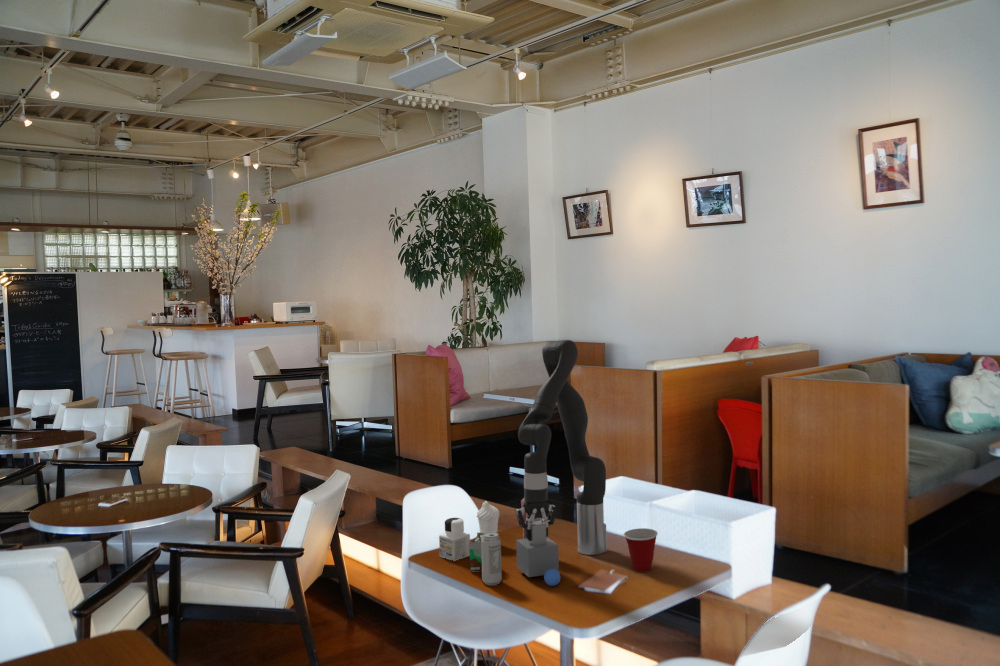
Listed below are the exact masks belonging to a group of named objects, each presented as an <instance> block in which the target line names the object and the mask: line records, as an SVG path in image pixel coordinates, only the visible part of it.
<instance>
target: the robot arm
mask: <svg viewBox="0 0 1000 666" xmlns="http://www.w3.org/2000/svg"><path fill="white" fill-rule="evenodd" d="M541 350H542V351H541V353H542V359H543V364H544V367H545V370H546V372H547V374H548V377H549V378H547V380H546V381H545V382H544V383H543V385H542V386H540V388H539V390H538V391H537V393H536V395H535V399H534V401H533V403H532V407H531V409H530V411H529V412H528V413H527V415H526V417H525V418H524V420H523V421H522V422H521V424H520V425H519V428H518V431H517V438H518V440H519V443H521V444H522V445H525V446H536V450H535V451H534V452H533V451H532V452H528V453H526V454H525V455H524V460H523V461H524V462H523V463H524V464H523V465H524V474H523V475H524V476H523V492H524V493H523V498H524V502H525V503H524V506H523V508H515V509H514V510H515V515H516V519H517V521H518V524H519V526H520V527H521V528H522V529H523V528H525V532H526V538H527V539H528V540H529V541H532V531H531V526H532V523H533V521H534V519H535V518H540V519H541V522H543V523H544V524H546V539H547V537H548V538H549V527H550V526H551V525H554V523H555V520H556V519H555V518H556V516H557V515H556V514H557V511H558V507H557V506H556V505H554V504H550V503H549V502H548V501H549V495H548V494H549V493H548V492H549V490H548V488H549V487H548V485H549V482H548V474H547V473H548V472H547V471H548V470H547V457H548V453H549V448H550V444H551V439H552V430H551V428H550V426H549V425H547V424H546V422H549V421H550V420H552V418H553V415H554V412H555V408H556V405H557V409H558V413H559V416H560V421H561V424H562V427H563V431H564V437H565V440H566V444H567V448H568V455H569V462H570V468H571V472H572V474H573V477H574V478H575V479H577V481H580V482H583V489H582V491H579V492H578V493H577V494H576V519H577V520H576V521H577V523H576V524H577V526H576V527H577V552H578V553H579V554H583V555H585V556H595V555H597V556H598V555H601V554H604V553H606V552H607V551H608V548H607V546H608V545H607V544H608V542H607V538H608V537H607V524H606V523H605V522H604V521H605V517H604V516H605V515H604V509H605V508H604V497H605V495H606V487H607V484H606V481H607V472H606V469H607V468H606V465H605V463H604V460H602V459H601V458H599V457H596V456H592V455H590V453H589V450H588V446H587V441H586V434H587V430H588V429H587V428H588V423H589V421H588V420H589V418H588V413H587V408H586V404H585V400H584V399H583V397H582V396H581V395H580V393H579V392H578V391H577V390H576V388H575V387H573V385H572V384H571V383H570V382H569V380H568V378H569V376H570V375H571V373H572V371H573V369H574V367H575V365H576V363H577V361H578V356H579V351H578V346H577V344H576V343H575V342H574V341H573V340H572V339H571V340H570V339H561V340H554V341H548V342H546V343H544V345H543V346H542V349H541ZM524 511H525V512H526V513H527V516H526V522H524V518H523V515H524ZM547 511H548V515H547Z"/></svg>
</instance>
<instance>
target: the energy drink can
mask: <svg viewBox="0 0 1000 666" xmlns="http://www.w3.org/2000/svg"><path fill="white" fill-rule="evenodd" d="M481 548H482V571H481V579H482V580H481V581H483V583H485V585H486V584H487V585H486V586H498V585H499V584H501V581H502V579H503V578H502V575H503V574H502V539H501V537H500V535H499V533H494V532H489V533H485V534H483V538H482V540H481ZM497 584H498V585H497Z"/></svg>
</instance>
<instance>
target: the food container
mask: <svg viewBox="0 0 1000 666" xmlns="http://www.w3.org/2000/svg"><path fill="white" fill-rule="evenodd" d="M483 534H485V533H480V531H479V532H476V536H475V537H474V538H473V539H472V541H470V542H469V550H470V556H469V563H470V565H469V567H470V572H471V571H481V570H482V548H481V540H482V538H483ZM481 572H482V571H481Z"/></svg>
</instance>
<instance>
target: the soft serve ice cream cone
mask: <svg viewBox="0 0 1000 666" xmlns="http://www.w3.org/2000/svg"><path fill="white" fill-rule="evenodd" d="M476 514H477V515H476V518H477V520H478V525H479V533H489V532H494V533H497V532H498V531H499V529H498V523H499V518H500V511H499V509H498V508H497V507H495V506H494V505H492V504H490V503H489V502H488V501H487V500H485V501H484V502H482V505H481V508H480V509H479V510H478V511H477V513H476Z"/></svg>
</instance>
